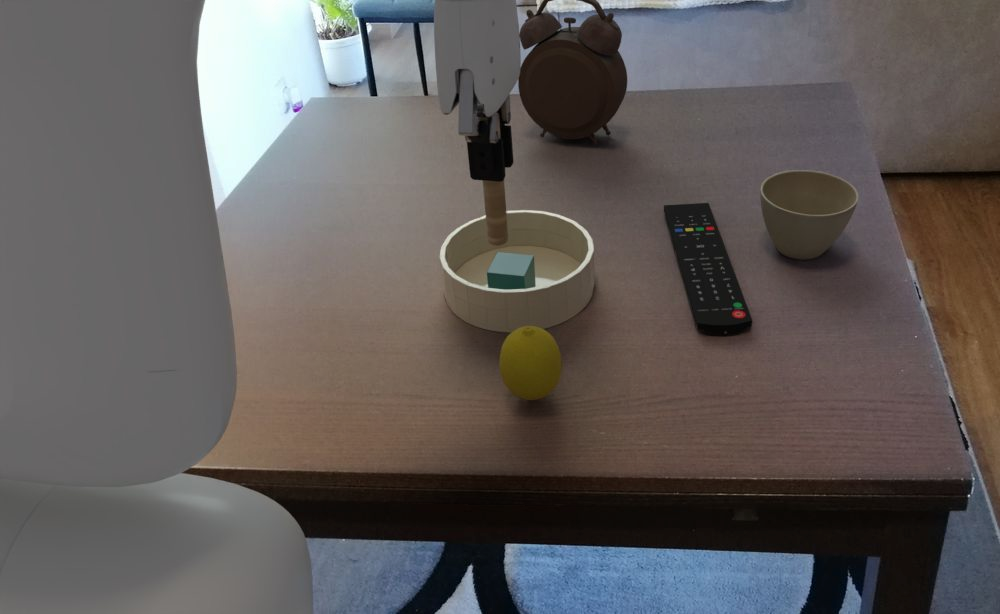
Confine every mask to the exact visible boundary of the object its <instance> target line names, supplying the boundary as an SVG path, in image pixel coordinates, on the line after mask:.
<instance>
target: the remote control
mask: <svg viewBox="0 0 1000 614" xmlns="http://www.w3.org/2000/svg"><path fill="white" fill-rule="evenodd" d="M663 213H664V216H665V221H666V224H667V227H668V231H669V234H670V239H671V241H672V245H673V248H674V252H675V255H676V259H677V262H678V267H679V270H680V273H681V276H682V279H683V280H682V281H683V283H684V287H685V290H686V293H687V294H686V295H687V298H688V301H689V304H690V309H691V312H692V315H693V319H694V322H695V326H696V329H697V330H699V331H701V332H703V333H705V334H707V335H710V336H715V337H729V336H735V335H740V334H741V333H743V332H745V331H746V330H748V329H749V328H751V327H753V318H752V316H751V315H752V314H751V313H750V309H749V307H748V304H747V302H746V299H745V297H744V294H743V292H742V289H741V286H740V283H739V280H738V278H737V275H736V273H735V269H734V267H733V264H732V262H731V259H730V257H729V254H728V251H727V248H726V246H725V243H724V240H723V238H722V235H721V232H720V230H719V227H718V225H717V222H716V219H715V216H714V214H713V211H712V209H711V205H710V203H709V202H698V203H681V204H679V203H678V204H664V205H663Z"/></svg>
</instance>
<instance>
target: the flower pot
mask: <svg viewBox="0 0 1000 614" xmlns="http://www.w3.org/2000/svg"><path fill="white" fill-rule="evenodd" d="M759 189H760V190H759V197H760V208H761V213H762V217H763V222H764V225H765V228H766V231H767V234H768V235H769V238H770V240H771V241H772V243H773V245H774V246H775V248H776V250H777V251H778V252H779V253H780V254H781V255H783V256H785V257H787V258H791V259H795V260H802V261H803V260H804V261H805V260H813V259H815V258H818V257H820V256H821V255H822V254H824V253H825V252H826V251H827V250H828V249H829V248H830V247H831V246H832V245H833V244H834V243H835V242H836V241H837V240H838V238H839V237H840V236H841V235H842V233H843V232H844V230H845V228H847V226H848V224H849V222H850V221H851V218H852V217H853V215H854V212H855V210H856V207H857V205H858V202H859V198H860V196H859V195H860V194H859V192H858V190H857V189H856V187H855V186H854V185H853V184H852V183H850V182H849V181H848V180H846V179H844V178H842V177H840V176H837V175H835V174H831V173H828V172H824V171H817V170H811V169H791V170H786V171H785V170H784V171H780V172H777V173H774V174H771V175H770V176H768V177H767V178H765V180H764V181H762V183H761V184H760V188H759Z"/></svg>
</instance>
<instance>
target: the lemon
mask: <svg viewBox="0 0 1000 614" xmlns="http://www.w3.org/2000/svg"><path fill="white" fill-rule="evenodd" d="M498 366H499V371H500V376H501V379H502V382H503V384H504V385H505V387H506V388H507V390H508V391H510V393H511V394H512V395H514V396H515V397H518V398H519V399H523V400H526V401H536V400H537V401H538V400H540V399H543V398H544V397H546V396H548V395H549V394H550V393H552V392H553V391H554V390H555V388H556V387H557V385H558V384H559V381H560V379H561V374H562V366H563V365H562V356H561V352H560V348H559V345H558V344H557V342H556V340H555V338H554V336H552V334H551V333H550V332H548V331H547V330H545V329H542V328H539V327H536V326H524V327H521V328H518V329H516V330H514V331H513V332H512V333H509V334H508V335H507V337H506V338H505V339H504V341H503V342H502V346H501V348H500V354H499V365H498Z"/></svg>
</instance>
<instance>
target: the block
mask: <svg viewBox="0 0 1000 614" xmlns="http://www.w3.org/2000/svg"><path fill="white" fill-rule="evenodd" d="M487 280H488V288H496V289H505V290H508V289H527V288H532V287H536V284H535V266H534V255H524V254H513V253H503V252H497V254H496V256H495V258H494V260H493V262H492V264H491V265H490V267H489V269H488V271H487Z"/></svg>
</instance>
